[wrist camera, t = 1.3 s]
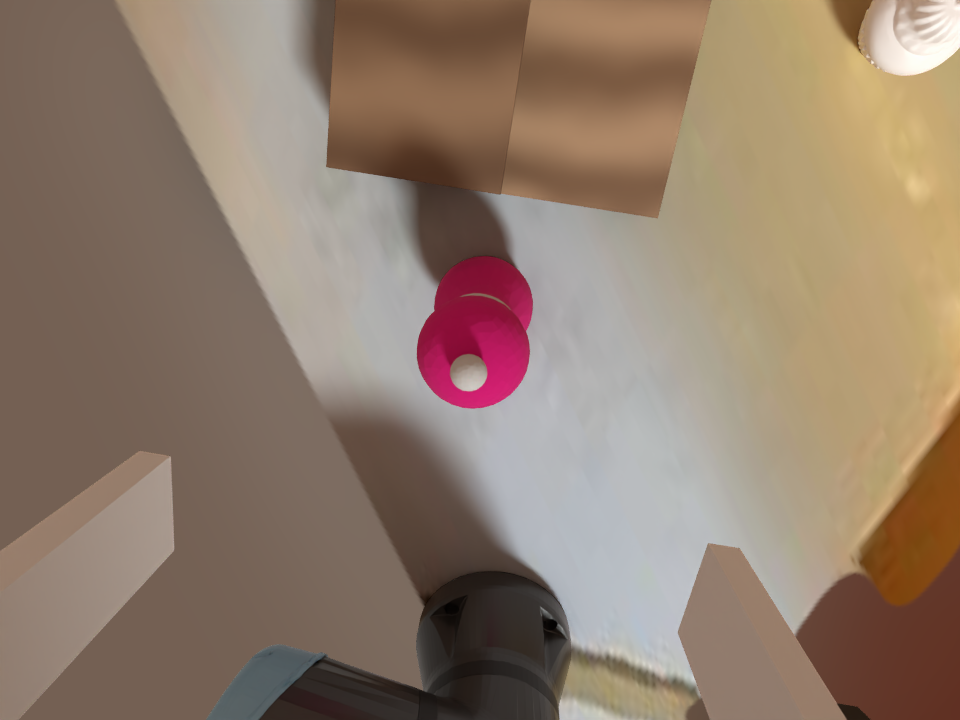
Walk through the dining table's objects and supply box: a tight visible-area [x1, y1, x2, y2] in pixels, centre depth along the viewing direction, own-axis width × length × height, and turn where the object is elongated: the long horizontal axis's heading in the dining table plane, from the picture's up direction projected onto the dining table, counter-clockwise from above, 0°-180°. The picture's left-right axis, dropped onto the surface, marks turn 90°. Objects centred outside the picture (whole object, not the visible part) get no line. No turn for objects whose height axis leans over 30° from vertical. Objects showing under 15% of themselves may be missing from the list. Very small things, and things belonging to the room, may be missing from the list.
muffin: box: [858, 0, 960, 76], centre depth 33 cm, size 6×6×7 cm
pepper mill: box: [417, 256, 533, 408], centre depth 34 cm, size 7×7×20 cm
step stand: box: [326, 0, 711, 218], centre depth 35 cm, size 16×22×8 cm
